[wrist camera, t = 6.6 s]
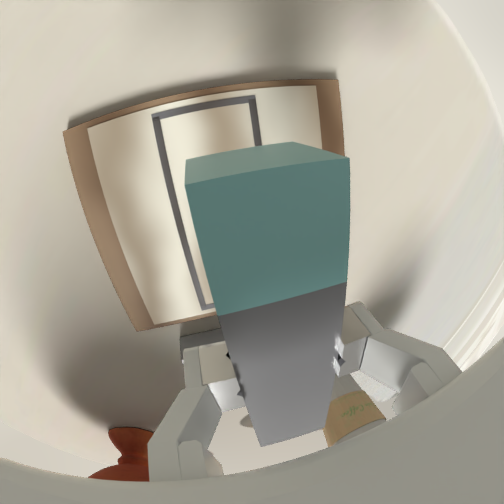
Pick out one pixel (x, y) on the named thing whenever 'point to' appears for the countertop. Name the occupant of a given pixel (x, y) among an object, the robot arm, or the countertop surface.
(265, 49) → the countertop surface
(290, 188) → the block
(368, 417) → the coffee cup
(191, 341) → the button housing
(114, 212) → the drawing board
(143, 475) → the goblet
